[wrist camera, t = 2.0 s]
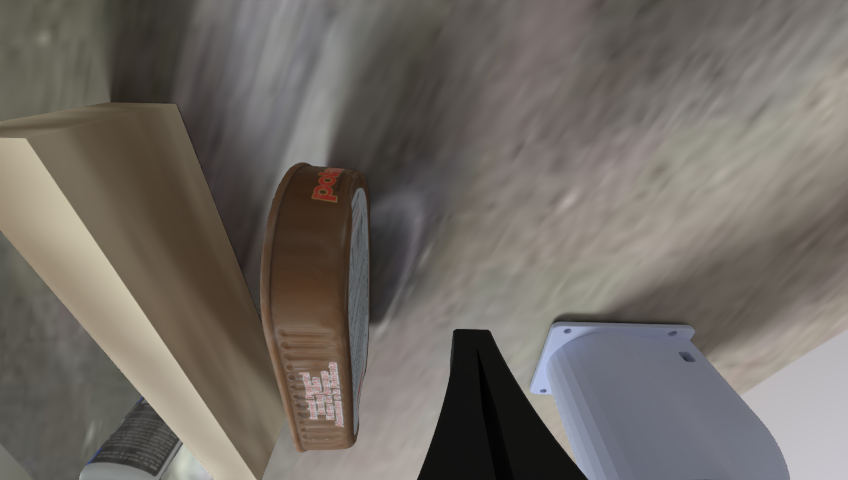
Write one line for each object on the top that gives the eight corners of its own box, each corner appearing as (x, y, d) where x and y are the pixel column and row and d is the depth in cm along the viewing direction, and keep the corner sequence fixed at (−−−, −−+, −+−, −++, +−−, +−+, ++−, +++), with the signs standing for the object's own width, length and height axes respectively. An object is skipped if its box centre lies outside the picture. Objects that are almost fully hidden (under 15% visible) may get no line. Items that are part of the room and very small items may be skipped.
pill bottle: (140, 379, 25) (27, 509, 18) (198, 384, 25) (109, 514, 18) (160, 409, 28) (68, 534, 21) (213, 413, 28) (139, 538, 21)
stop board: (175, 103, 14) (25, 138, 9) (291, 400, 27) (259, 484, 22) (109, 102, 14) (-81, 135, 9) (257, 399, 27) (217, 483, 22)
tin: (316, 137, 14) (206, 227, 7) (383, 144, 14) (338, 240, 7) (335, 344, 22) (291, 482, 15) (377, 347, 23) (353, 485, 16)
